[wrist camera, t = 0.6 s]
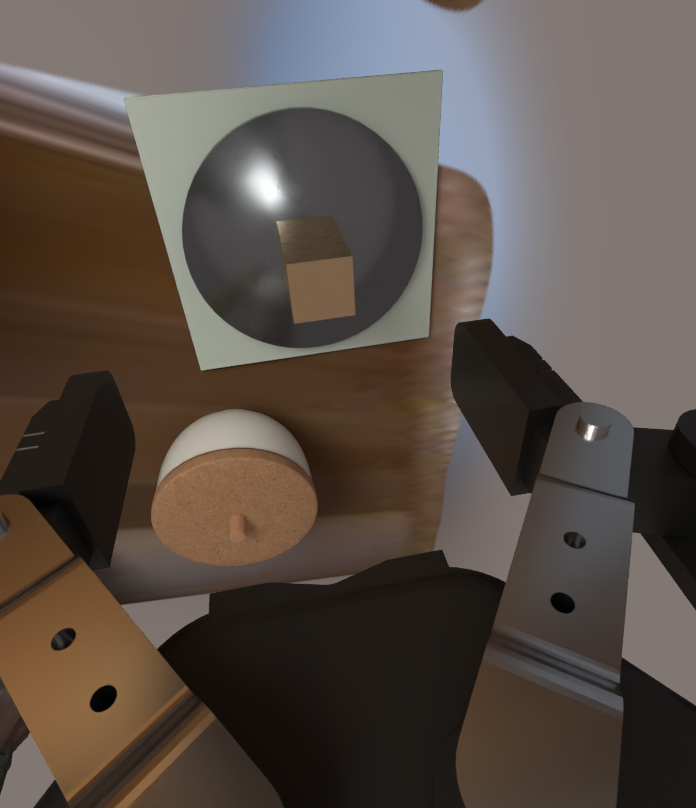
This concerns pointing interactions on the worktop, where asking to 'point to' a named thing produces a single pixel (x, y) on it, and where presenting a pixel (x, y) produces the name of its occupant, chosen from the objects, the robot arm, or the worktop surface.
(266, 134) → the lid
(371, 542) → the worktop surface
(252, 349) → the mat
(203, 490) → the lidded jar
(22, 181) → the worktop surface
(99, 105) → the worktop surface
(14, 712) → the sauce bottle
